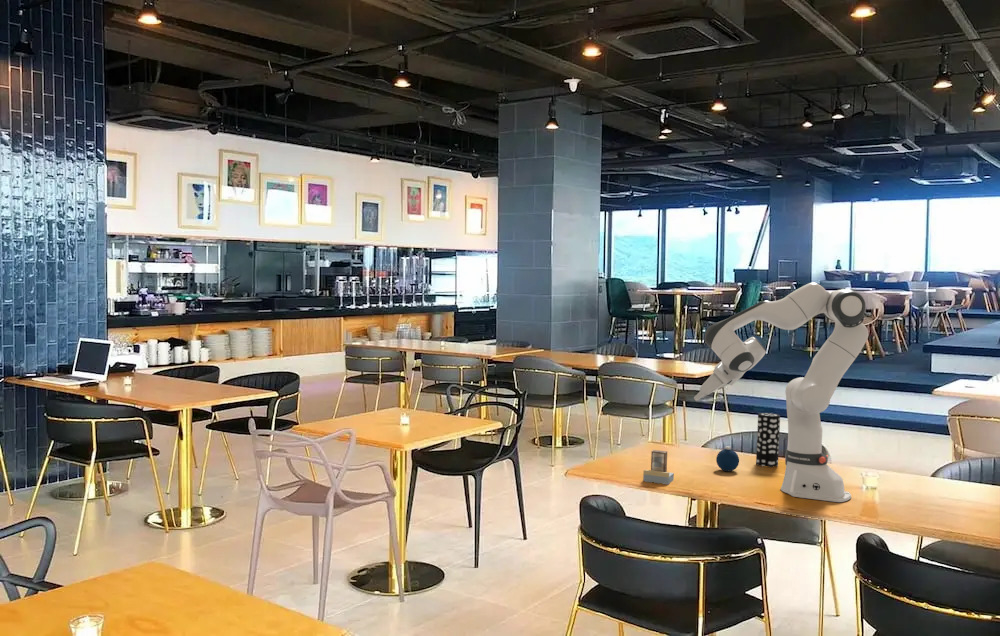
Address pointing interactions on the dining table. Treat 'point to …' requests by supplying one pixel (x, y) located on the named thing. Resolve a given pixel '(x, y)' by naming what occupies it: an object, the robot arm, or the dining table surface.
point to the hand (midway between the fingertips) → (697, 398)
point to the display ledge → (658, 477)
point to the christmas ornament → (727, 459)
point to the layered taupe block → (659, 461)
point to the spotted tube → (768, 439)
